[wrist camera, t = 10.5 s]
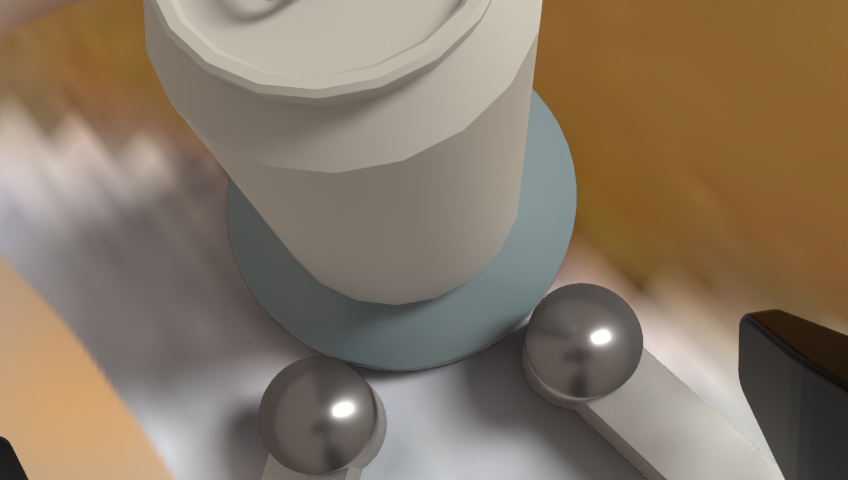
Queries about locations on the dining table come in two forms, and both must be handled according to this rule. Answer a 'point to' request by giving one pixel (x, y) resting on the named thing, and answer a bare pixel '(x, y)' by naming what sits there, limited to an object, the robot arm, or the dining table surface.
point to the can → (362, 126)
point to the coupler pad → (434, 318)
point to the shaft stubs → (549, 377)
